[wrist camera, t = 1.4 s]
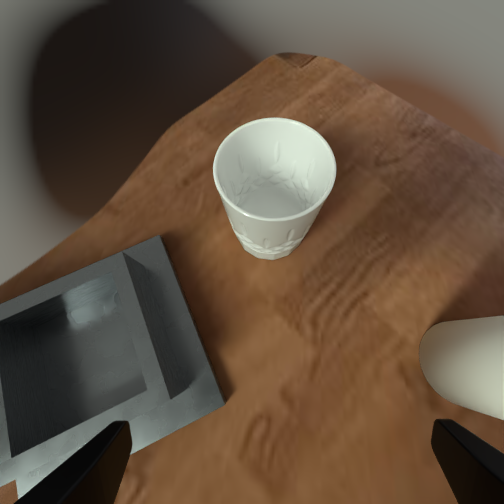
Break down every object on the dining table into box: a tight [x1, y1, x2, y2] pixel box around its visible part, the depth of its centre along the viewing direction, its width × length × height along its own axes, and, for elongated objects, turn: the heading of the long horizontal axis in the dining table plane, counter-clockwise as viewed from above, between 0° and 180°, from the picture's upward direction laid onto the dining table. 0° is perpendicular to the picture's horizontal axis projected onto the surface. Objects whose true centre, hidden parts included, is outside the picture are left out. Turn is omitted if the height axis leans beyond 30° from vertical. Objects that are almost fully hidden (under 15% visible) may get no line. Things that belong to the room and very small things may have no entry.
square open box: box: [0, 235, 226, 499], centre depth 21 cm, size 16×16×5 cm
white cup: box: [213, 118, 336, 260], centre depth 21 cm, size 8×8×10 cm
